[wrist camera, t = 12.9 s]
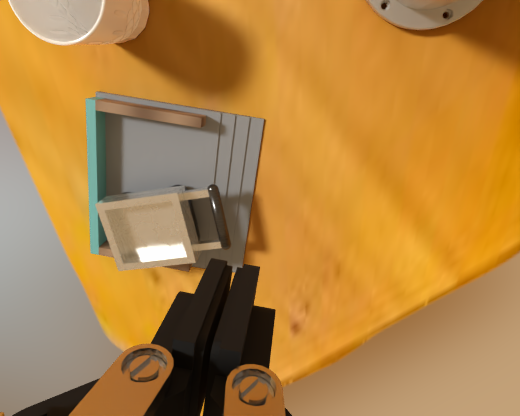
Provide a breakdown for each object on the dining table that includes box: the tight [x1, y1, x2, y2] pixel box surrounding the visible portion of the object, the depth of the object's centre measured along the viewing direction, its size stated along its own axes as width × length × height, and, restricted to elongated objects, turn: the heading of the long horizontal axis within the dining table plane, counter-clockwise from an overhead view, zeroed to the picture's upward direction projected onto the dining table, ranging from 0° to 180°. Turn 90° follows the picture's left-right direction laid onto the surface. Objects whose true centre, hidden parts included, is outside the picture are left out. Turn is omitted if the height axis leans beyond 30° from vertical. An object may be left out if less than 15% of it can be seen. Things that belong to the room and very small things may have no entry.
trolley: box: [95, 184, 231, 271], centre depth 41 cm, size 13×8×5 cm, turn 100°
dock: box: [86, 92, 264, 272], centre depth 42 cm, size 18×19×3 cm
